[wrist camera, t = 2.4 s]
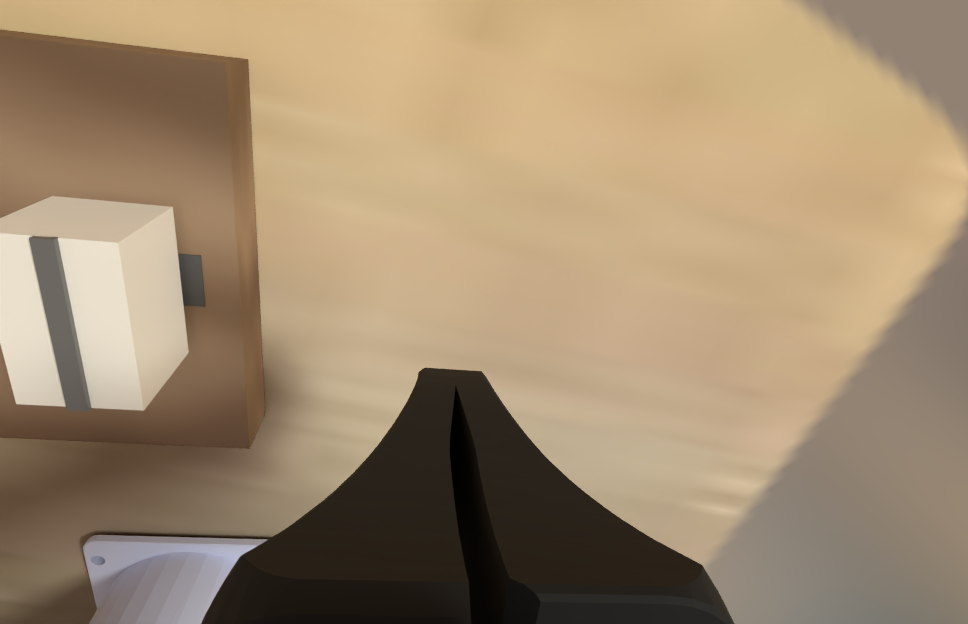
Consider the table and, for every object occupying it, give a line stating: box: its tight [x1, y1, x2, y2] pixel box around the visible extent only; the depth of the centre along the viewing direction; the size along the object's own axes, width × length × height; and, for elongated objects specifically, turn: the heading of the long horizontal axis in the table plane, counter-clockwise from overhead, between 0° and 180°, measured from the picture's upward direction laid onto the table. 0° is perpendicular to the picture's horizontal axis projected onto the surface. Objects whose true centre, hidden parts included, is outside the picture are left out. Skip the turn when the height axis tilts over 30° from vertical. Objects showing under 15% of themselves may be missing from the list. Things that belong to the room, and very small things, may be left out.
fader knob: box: [0, 196, 189, 411], centre depth 15 cm, size 4×3×3 cm, turn 173°
